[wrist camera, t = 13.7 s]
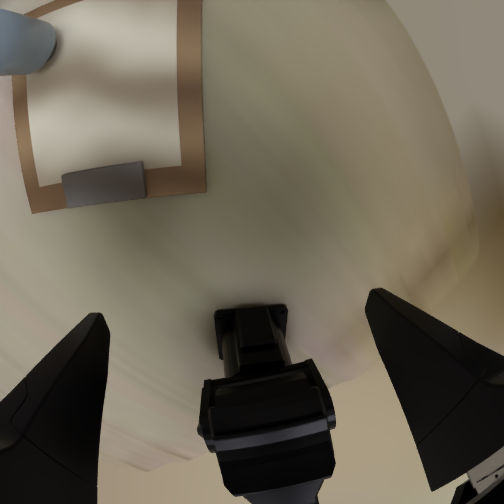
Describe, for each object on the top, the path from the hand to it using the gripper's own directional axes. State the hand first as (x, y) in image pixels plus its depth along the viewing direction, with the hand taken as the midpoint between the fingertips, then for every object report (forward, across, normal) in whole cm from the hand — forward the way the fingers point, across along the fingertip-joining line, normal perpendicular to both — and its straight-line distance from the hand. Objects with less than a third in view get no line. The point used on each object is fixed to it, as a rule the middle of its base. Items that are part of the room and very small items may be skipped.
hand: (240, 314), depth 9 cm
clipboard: (+12, +8, -8) cm, 17 cm away
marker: (+12, +12, -12) cm, 21 cm away
